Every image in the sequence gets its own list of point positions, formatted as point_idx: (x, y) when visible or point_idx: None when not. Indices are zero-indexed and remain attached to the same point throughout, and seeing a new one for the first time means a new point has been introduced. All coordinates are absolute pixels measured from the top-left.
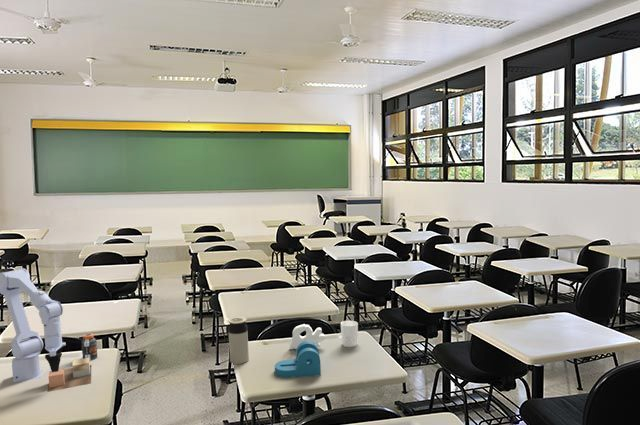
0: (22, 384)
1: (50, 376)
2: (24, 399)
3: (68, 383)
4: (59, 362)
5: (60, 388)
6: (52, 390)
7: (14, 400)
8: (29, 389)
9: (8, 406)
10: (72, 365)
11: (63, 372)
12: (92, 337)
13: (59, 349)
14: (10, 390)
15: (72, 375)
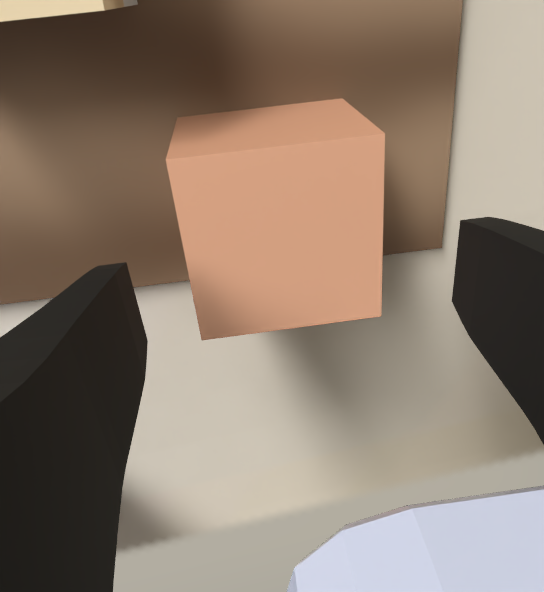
0: (126, 468)
1: (381, 292)
2: (453, 384)
3: (321, 47)
4: (122, 274)
5: (429, 125)
6: (437, 203)
7: (428, 439)
8: (259, 399)
9: (512, 446)
10: (91, 9)
11: (308, 140)
12: None
13: (21, 479)
14: (221, 506)
15: (43, 31)
